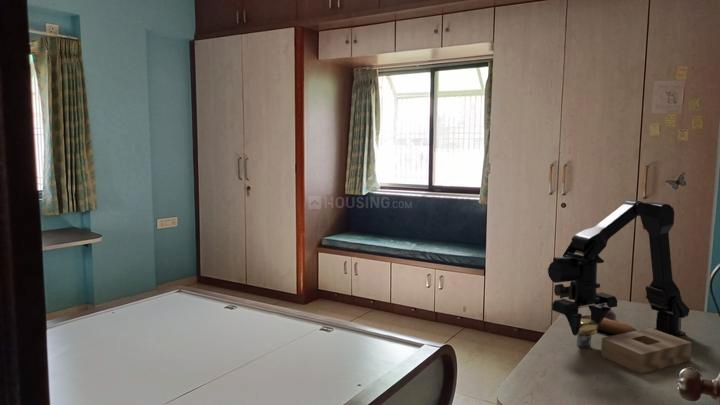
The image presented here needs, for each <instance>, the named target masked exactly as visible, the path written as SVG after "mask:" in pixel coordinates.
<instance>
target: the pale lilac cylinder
mask: <svg viewBox="0 0 720 405" xmlns="http://www.w3.org/2000/svg"><path fill="white" fill-rule="evenodd" d="M606 305H607V303H606ZM607 307H608V306H607ZM608 308H609V307H608ZM604 318H607V319H610V320H613V321H614V320H615V321H617V315H616V313H615V312H614V310H613V309H612V308H611V310H610V311H608V313H607V314H606V316H605V317H604Z"/></svg>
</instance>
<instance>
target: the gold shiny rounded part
mask: <svg viewBox="0 0 720 405" xmlns="http://www.w3.org/2000/svg"><path fill="white" fill-rule="evenodd" d="M597 334H598V329H597V322H595V321H593V320H590V319H583V318H581V321H580V326H579V330H578V333H577V335H576V346H577V347H578V348H579V349H584V350H587V349H589V350H590V349H591V347H592V336H594V335H597Z"/></svg>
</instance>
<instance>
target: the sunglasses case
mask: <svg viewBox="0 0 720 405" xmlns="http://www.w3.org/2000/svg"><path fill="white" fill-rule="evenodd" d="M581 318H583V319H590V320H591V314H590V315H589V314H588V315H587V314H586V315H582V317H581ZM597 330H598V331H602V332H606V333H609V334H613V335H618V334H623V333H628V332H632V331H637V330H638V329H636V328H635V327H633V326H632V325H630V324H628V323H625V322H620V321H618V320H616V321H615V320H614V321H613V320H610V319H607V318H604V319H603V320H602V322H601V323H600V325H599V327H598V328H597Z"/></svg>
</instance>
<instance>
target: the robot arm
mask: <svg viewBox="0 0 720 405" xmlns="http://www.w3.org/2000/svg"><path fill="white" fill-rule="evenodd" d="M637 217H639V218H640V221H641V225H642V226H643V227H644V229H645V230H646V232H647V233H648V238H649V251H650V252H649V253H650V260H651V272H652V281H651V282H650V284H649V285H646V286H645V292H646V296H645V299H647V300H648V304H649V306H650V308H651V310H652V311H656V320H655V321H656V323H655V328H653V329H655V330H658V331H661V332H664V333H666V334H669V335H672V336H675V337H680V336H684V335H687V333H686V332H685V331H682V319H685V317H688V316H689V314H690V310H691V309H690V307H688V306H687V305H686V304H685V302H684V300H682V295H681V291H680V289H679V287H678V286H677V284H676V283H675V281H674V279H673V268H672V258H671V246H670V237H669V236H670V234H669V232H670V231H671V229H672V228H673V226H674V224H675V209H674V207H673V206H671V205H670V204H668V203H661V202H660V203H659V202H651V201H648V202H644V201H643V202H642V201H640V200H633V199H627V200H624V202H623V203H622V205H621V206H619V207H618V208H617V209H616V210H614V211H613V212H612V213H610V214H608V216H606V217H605V218H604V219H603V220H601V221H599V223H597V224H596V225H595V226H593V227H590V228H586V229H583V230H582V231H579V232H577V233H576V234H574V235H573V237H571V241H570V243H569V245H568V246H567V248H566V249H565V251H564V253H563V254H562V257H559V256H556V257H553V258H552V261H551V263H550V264H549V266H548V268H547V274H548V277H549V279H550V280H551V282H553V283H556V284H554V290H553V292H554V295H555V296H556V297H559V299H557V300H554V301H553V302H552V304H551V307H552V308H551V310H552V311H554V312H556V313H558V314H561V315H564V316H565V318H566V320H567V322H568V325H569V327H570V330H571V333H572V335H573V336H576V337H577V333H578V330H579V326H580V321H581V317H582V316H583V314H582V313H579V309H581V308H585V307H586V308H587V307H588V309H589V311H590V315H591V320H593V321H595V322H597V328H598V327H599V325H600V323H601V322H602V320H603V319H604V317H605V316H606V314H607V313H608V311H610V310H611V309H612V308H616V307H618V299H617V297H616V296H615V295H612V294H610V293H605V292H597V291H598V290H597V289H599V288H601V284H600V283H598V282H597V281H598V276H597V275H598V264H603V263H605V260H604V259H603V258H602V257H601V256H599V255H600V254H601V253H602V252H603V251H604V250H605V248H606V247H607V245H608V241H609V239H611V238H612V237H613V236H615V235H616V234H617V233H618V232H620V230H622V229H623V228H624V227H626V226H627V225H628V224H629V223H631V222H632V221H633V220H635V219H636V218H637ZM567 282H570V283H569V285H567V286H565V285H564V284H563V283H567ZM558 283H559V284H558ZM565 298H568V299H569V300H568V299H565ZM572 300H573V301H572ZM606 303H607V305H606ZM607 306H608V307H609V308H608V307H607Z"/></svg>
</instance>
